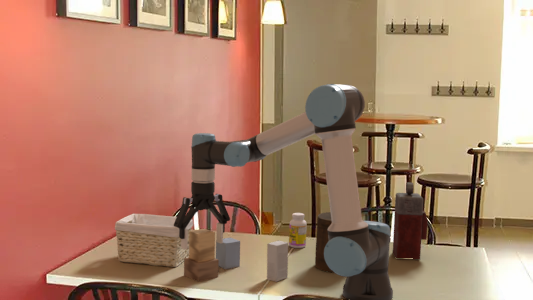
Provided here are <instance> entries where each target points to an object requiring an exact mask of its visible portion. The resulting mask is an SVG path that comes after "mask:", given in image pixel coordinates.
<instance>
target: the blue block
mask: <svg viewBox="0 0 533 300" xmlns="http://www.w3.org/2000/svg"><path fill="white" fill-rule="evenodd" d="M215 259H218V260H219V264H218V268H222V269H224V270H229V269H233V268H239V267H241V262H240V261H241V240H239V239H236V238H233V237H225V238H224V237H223V243H222V244H221V243H218V242H216V241H215Z"/></svg>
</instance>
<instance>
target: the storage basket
mask: <svg viewBox="0 0 533 300" xmlns="http://www.w3.org/2000/svg"><path fill="white" fill-rule="evenodd" d="M176 218H177V216H169V215H167V216H166V215H158V214H157V215H156V214H150V213H149V214H147V213H132V214H129V215H127V216H125V217H123V218H121V219H119V220H117V221H115V225H114V230H115V231H116V232H115V233H116V244H117V256H118V261H119V262H122V263H123V262H124V263H131V264H133V263H134V264H144V265H150V266H155V267H158V266H159V267H161V266H164V267H172V268H173V267H174V268H176V267H179V266H180V265H181V264H182V263H184V258H188V257H189V231H192V227H193V226H194V220H193V218H192V219H191V221H190V222H189V224H188V225H187V227H186V229H188V249H183V248H181V238H180V237H179V228H177V227H175V226H174V223H175V220H176Z"/></svg>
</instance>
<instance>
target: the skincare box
mask: <svg viewBox="0 0 533 300" xmlns="http://www.w3.org/2000/svg"><path fill="white" fill-rule="evenodd" d="M266 247H267V253H266V259H267V260H266V280H269V281H273V282H279V281H281V280H284V279H287V278H288V274H289V273H288V272H289V270H288V269H289V265H288V264H289V241H282V240H275V241H272V242H269V243H267V246H266Z"/></svg>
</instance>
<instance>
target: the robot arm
mask: <svg viewBox="0 0 533 300" xmlns="http://www.w3.org/2000/svg"><path fill="white" fill-rule="evenodd" d="M365 107H366V101H365V98H364V95H363V94H362V91H360V89H359V88H357V87H355V86H353V85H351V84H347V83H346V84H339V83H338V84H336V83H329V84H328V83H327V84H323V85H319V86H317V87H316V88H314V89H313V90H311V92H310V93H309V95H308V96H307V98H306V101H305V106H304V109H305V112H302V113H300V114H298V115H295V116H293V117H292V118H289V119H287V120H285V121H283V122H281V123H279V124H277V125H275V126H273V127H270V128H268V129H267V130H264V131H262V132H260V133H258V134H257V135H254V136H252V137H250V138H246V139H241V140H232V141H224V140H222V141H221V140H220V141H219V140H217V139H216V135H215V134H214V133H208V132H207V133H206V132H203V133H201V132H200V133H198V132H197V133H195V134H192V136H191V137H192V139H191V146H190V148H191V184H190V186H191V187H190V188H191V189H190V193H191V197H184V196H183V198H182V204H181V207H180V209H179V211H178V213H177V216H176V217H177V218H176V220H175V223H174V226H175V227H177V228H179V237H180V238H181V248H183V249H188V229H186V227H187V225H188V224H189V222H190V221H191V219H192V220H193V218H194V216H195V215H196V213H198V212H199V211H204V210H209V211H210V212H211V214H212V215H213V216H214V217H215V218H216V220H217V221H218V222H216V232H215V243H216V242H218V243H221V244H222V243H223V239H224V233H225V231H226V227H225V225H226V224H228V222H229V221H231V218H230V215H229V213H228V210H227V208H226V206H225V205H226V204H225V203H224V201H223V200H224V198H223V195H222V194H220V193H215V191H216V190H215V188H216V187H215V185H216V184H215V179H216V165H220V166H226V167H227V166H229V167H233V168H235V167H238V168H239V167H245V165H246V164H247V163H252V162H255V163H256V162H259V161H262V160H264V159H265V158H266V157H267V156H269V155H271V154H274V153H275V152H278V151H280V150H282V149H284V148H287V147H289V146H292V145H293V144H296V143H299V142H300V141H303V140H305V139H306V138H309V137H311V136H314V135H315V136H317V138H319V139H320V140H321V141H320V142H321V146H322V155H323V162H324V170H325V177H326V178H325V179H326V186H327V195H328V201H329V208H330V209H329V210H330V211H329V212H331V219H332V223H331V225H330V226H329V227H328V238H329V241H328V243H327V244H326V246H325V249H324V258H325V261H326V264H327V265H328V267H329V268H330V269H331V270H332V271H333V272H334V274H336V275H338V276H341V277H346V279H345V280H344V281H345V282H344V284H343V286H342V296H343V298H345V299H347V300H348V299H350V300H391V299H392V298H394V297H393V296H394V290H393V287H392V285H391V279H390V276H389V261H390V258H389V257H390V245H391V244H390V243H391V242H390V239H391V227H390V225H389V224H387V223H384V222H379V221H374V220H373V221H372V220H363V218H362V209H361V202H360V194H359V184H358V179H357V169H356V161H355V155H354V145H353V140H352V139H353V138H352V135H353V134H354V133H355V132H356V121H358V119H360V118H361V117H362V115H363V114H364V111H365ZM214 202H216V203H215V204H216V205H217V207H216V206H215V204H214ZM217 208H218V209H217ZM392 300H393V299H392Z"/></svg>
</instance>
